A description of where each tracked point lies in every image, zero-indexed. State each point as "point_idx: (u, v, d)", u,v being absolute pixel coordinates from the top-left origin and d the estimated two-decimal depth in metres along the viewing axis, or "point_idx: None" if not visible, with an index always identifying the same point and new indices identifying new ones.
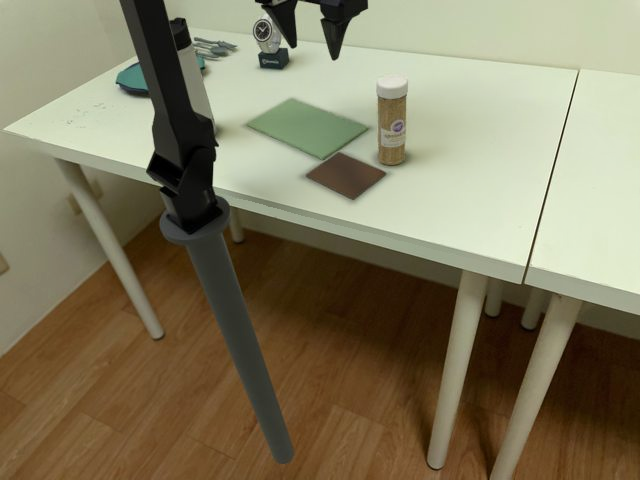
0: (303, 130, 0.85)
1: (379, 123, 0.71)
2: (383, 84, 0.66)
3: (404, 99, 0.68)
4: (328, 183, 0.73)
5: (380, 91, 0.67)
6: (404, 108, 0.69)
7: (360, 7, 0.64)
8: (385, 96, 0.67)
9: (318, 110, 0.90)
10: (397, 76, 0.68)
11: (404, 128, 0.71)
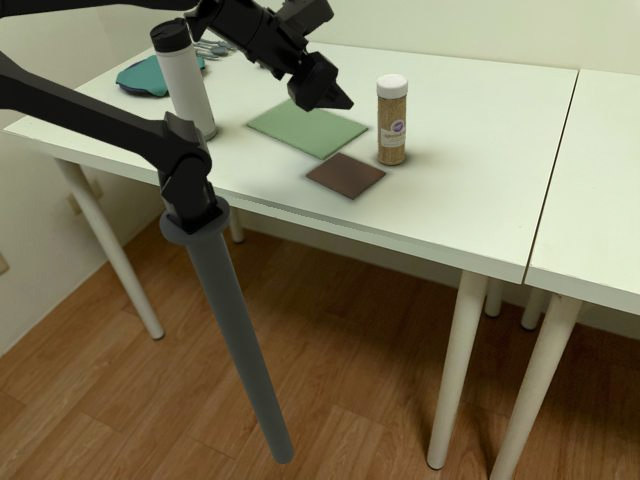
0: (303, 130, 0.85)
1: (379, 123, 0.71)
2: (383, 84, 0.66)
3: (404, 99, 0.68)
4: (328, 183, 0.73)
5: (380, 91, 0.67)
6: (404, 108, 0.69)
7: (325, 84, 0.54)
8: (385, 96, 0.67)
9: (318, 110, 0.90)
10: (397, 76, 0.68)
11: (404, 128, 0.71)
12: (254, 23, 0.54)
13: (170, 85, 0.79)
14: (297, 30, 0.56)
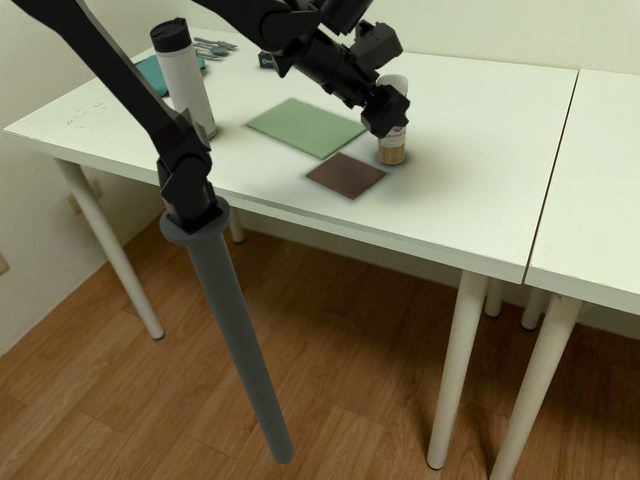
0: (303, 130, 0.85)
1: None
2: (383, 84, 0.66)
3: None
4: (328, 183, 0.73)
5: None
6: None
7: (398, 114, 0.60)
8: None
9: (318, 110, 0.90)
10: (397, 76, 0.68)
11: (404, 128, 0.71)
12: (334, 60, 0.60)
13: (170, 85, 0.79)
14: (371, 65, 0.62)
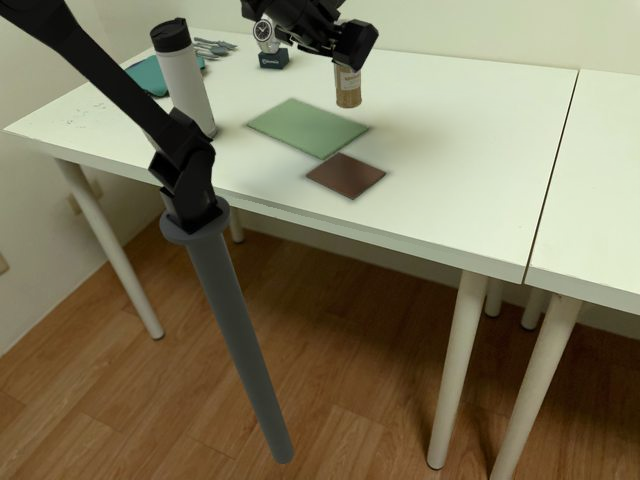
0: (303, 130, 0.85)
1: (337, 67, 0.75)
2: None
3: None
4: (328, 183, 0.73)
5: None
6: None
7: (370, 43, 0.64)
8: None
9: (318, 110, 0.90)
10: (348, 19, 0.72)
11: (360, 69, 0.76)
12: (303, 0, 0.62)
13: (170, 85, 0.79)
14: (332, 4, 0.65)
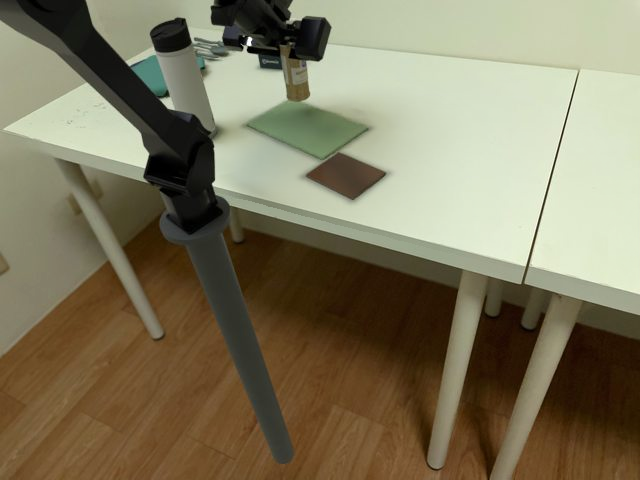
0: (303, 130, 0.85)
1: (288, 64, 0.81)
2: None
3: None
4: (328, 183, 0.73)
5: None
6: None
7: (327, 35, 0.72)
8: None
9: (318, 110, 0.90)
10: None
11: (306, 63, 0.83)
12: (264, 3, 0.68)
13: (170, 85, 0.79)
14: (284, 5, 0.72)
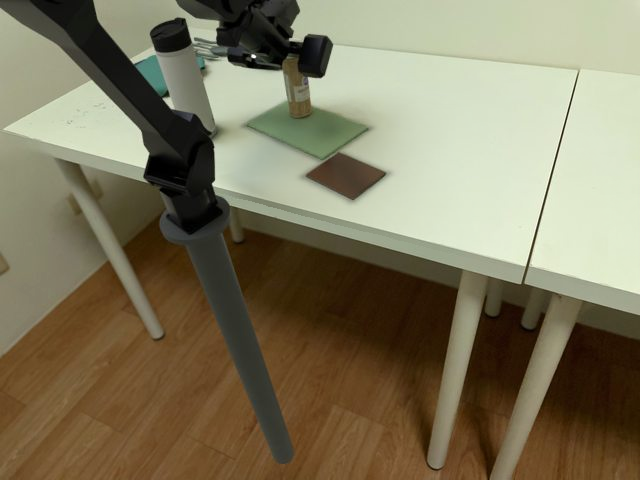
0: (303, 130, 0.85)
1: (290, 83, 0.83)
2: None
3: None
4: (328, 183, 0.73)
5: None
6: None
7: (329, 52, 0.74)
8: None
9: (318, 110, 0.90)
10: (291, 39, 0.81)
11: (308, 81, 0.86)
12: (267, 23, 0.69)
13: (170, 85, 0.79)
14: (287, 23, 0.74)
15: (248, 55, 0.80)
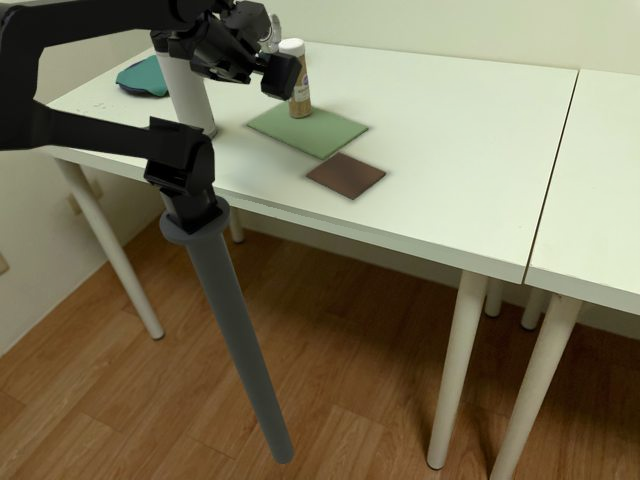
0: (303, 130, 0.85)
1: None
2: (289, 46, 0.79)
3: (304, 55, 0.82)
4: (328, 183, 0.73)
5: (288, 53, 0.80)
6: (305, 63, 0.83)
7: (296, 74, 0.67)
8: None
9: (318, 110, 0.90)
10: (291, 39, 0.81)
11: (308, 81, 0.86)
12: (228, 34, 0.63)
13: (170, 85, 0.79)
14: (253, 38, 0.67)
15: None
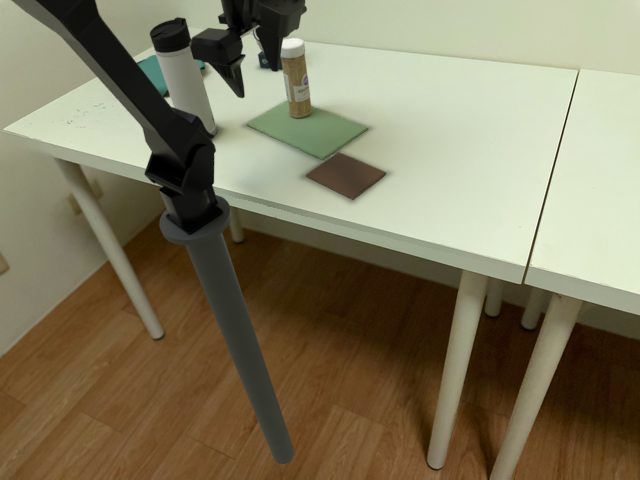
0: (303, 130, 0.85)
1: (290, 83, 0.83)
2: (289, 46, 0.79)
3: (304, 55, 0.82)
4: (328, 183, 0.73)
5: (288, 53, 0.80)
6: (305, 63, 0.83)
7: (212, 57, 0.60)
8: (294, 56, 0.80)
9: (318, 110, 0.90)
10: (291, 39, 0.81)
11: None
12: None
13: (170, 85, 0.79)
14: (251, 12, 0.61)
15: None
